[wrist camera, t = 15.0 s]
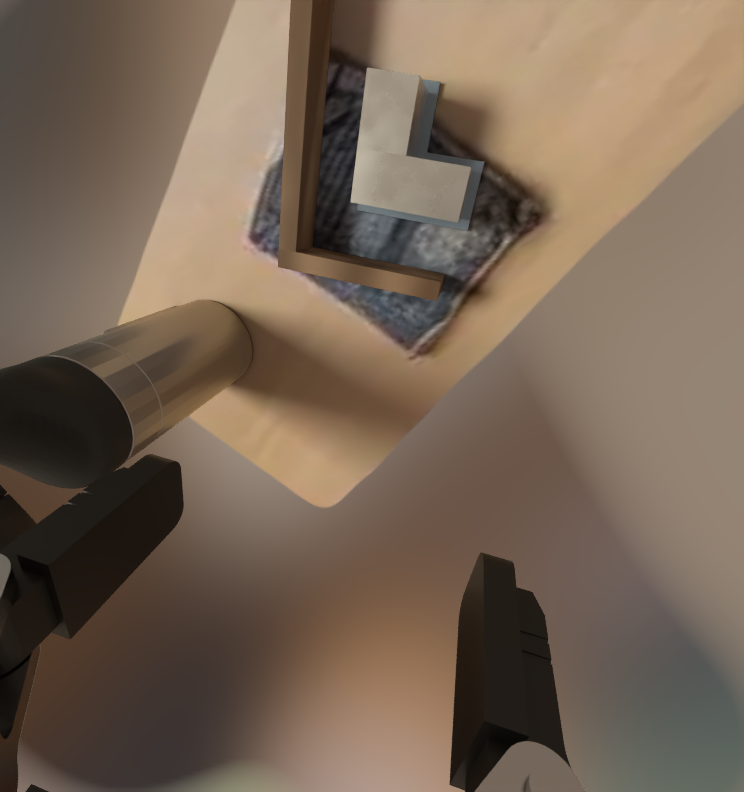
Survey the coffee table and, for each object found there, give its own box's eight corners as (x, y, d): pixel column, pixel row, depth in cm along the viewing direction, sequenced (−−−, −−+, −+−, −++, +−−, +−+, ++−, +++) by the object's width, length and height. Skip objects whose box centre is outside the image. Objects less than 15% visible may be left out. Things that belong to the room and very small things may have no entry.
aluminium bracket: (367, 201, 35) (350, 202, 31) (383, 85, 31) (367, 67, 27) (461, 219, 34) (457, 222, 29) (489, 101, 30) (490, 85, 26)
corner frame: (296, 260, 39) (278, 266, 35) (315, -22, 30) (293, -52, 26) (441, 291, 37) (436, 300, 33) (508, -1, 28) (512, -30, 24)
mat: (357, 210, 36) (356, 210, 35) (375, 73, 31) (374, 72, 31) (467, 230, 34) (467, 230, 34) (501, 91, 30) (501, 90, 30)
